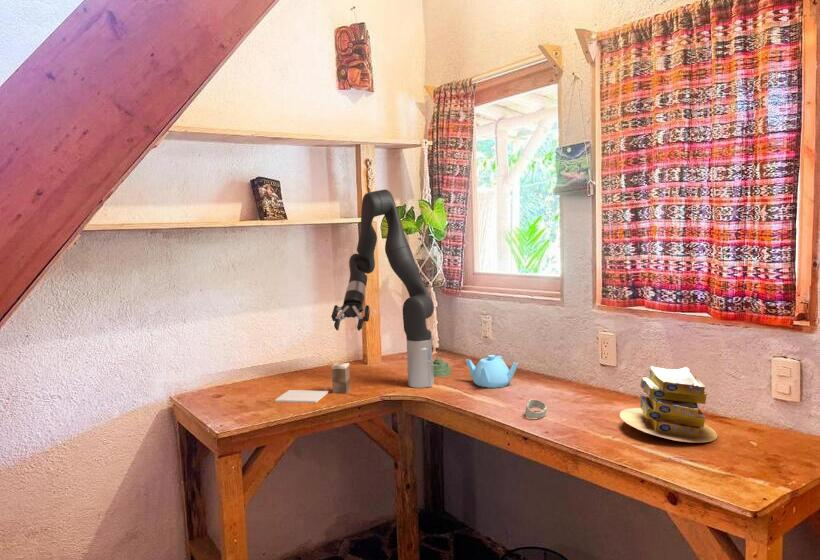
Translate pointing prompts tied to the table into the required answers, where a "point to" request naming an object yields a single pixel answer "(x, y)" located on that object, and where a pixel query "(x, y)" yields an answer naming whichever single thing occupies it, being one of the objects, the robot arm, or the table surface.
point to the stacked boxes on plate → (671, 407)
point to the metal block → (341, 378)
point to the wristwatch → (536, 404)
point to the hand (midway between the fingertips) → (347, 329)
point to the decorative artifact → (441, 368)
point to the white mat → (301, 396)
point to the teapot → (491, 372)
